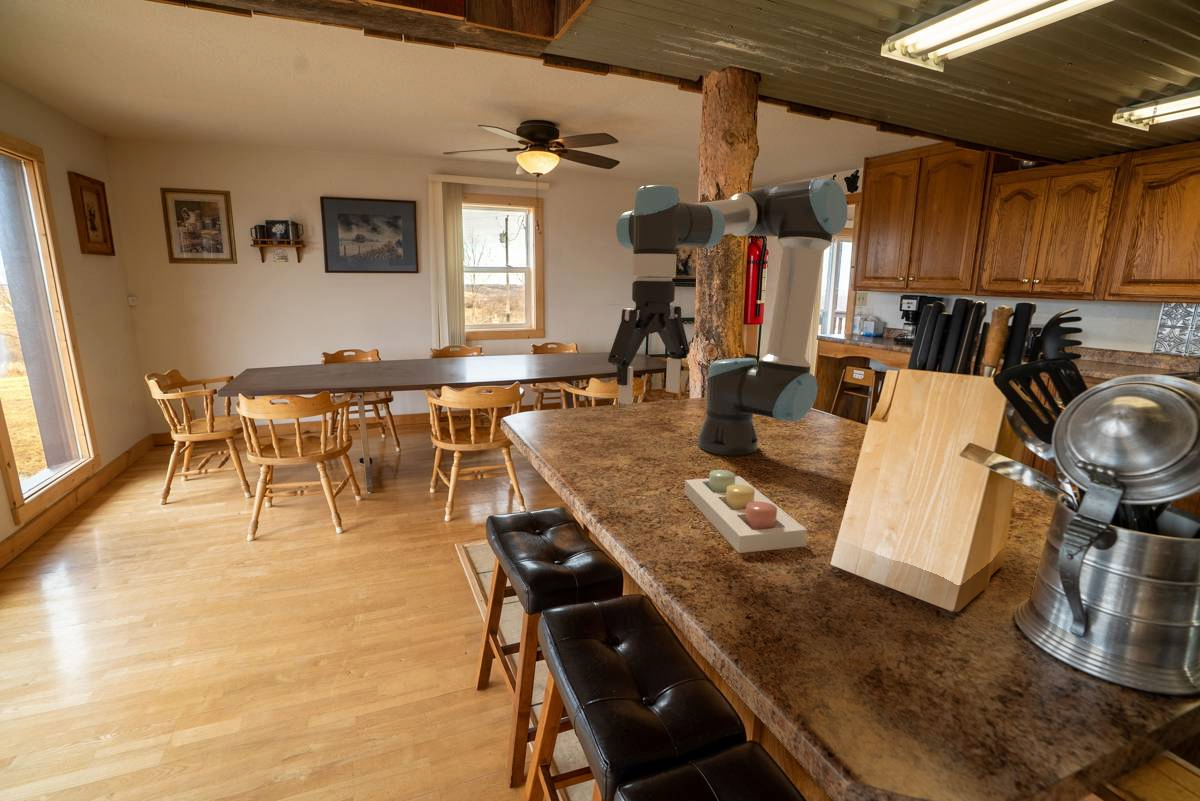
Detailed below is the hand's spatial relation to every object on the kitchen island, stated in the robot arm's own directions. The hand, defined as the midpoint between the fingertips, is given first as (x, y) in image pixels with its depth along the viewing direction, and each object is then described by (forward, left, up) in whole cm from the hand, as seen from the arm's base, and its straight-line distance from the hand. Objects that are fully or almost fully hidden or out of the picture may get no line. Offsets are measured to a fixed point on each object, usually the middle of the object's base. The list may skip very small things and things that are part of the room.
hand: (649, 397), depth 102 cm
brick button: (-16, +16, -19) cm, 29 cm away
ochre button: (-15, +8, -19) cm, 26 cm away
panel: (-15, +8, -22) cm, 28 cm away
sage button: (-16, 0, -19) cm, 25 cm away
